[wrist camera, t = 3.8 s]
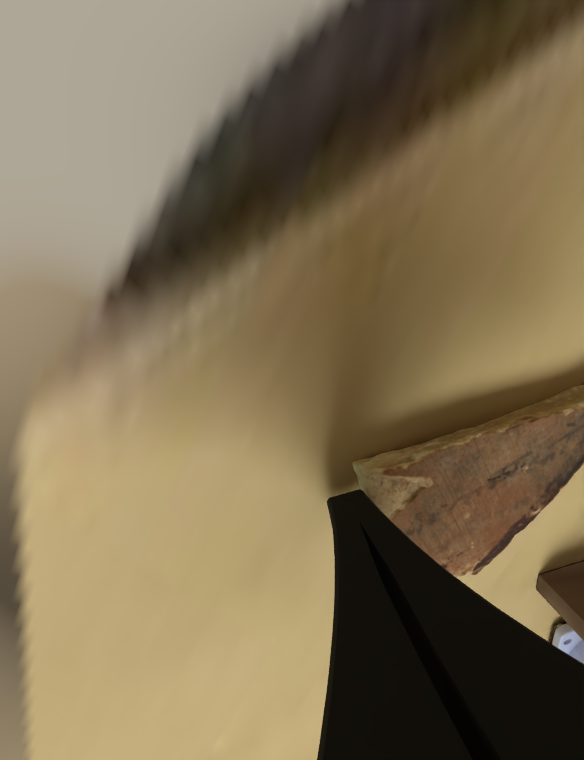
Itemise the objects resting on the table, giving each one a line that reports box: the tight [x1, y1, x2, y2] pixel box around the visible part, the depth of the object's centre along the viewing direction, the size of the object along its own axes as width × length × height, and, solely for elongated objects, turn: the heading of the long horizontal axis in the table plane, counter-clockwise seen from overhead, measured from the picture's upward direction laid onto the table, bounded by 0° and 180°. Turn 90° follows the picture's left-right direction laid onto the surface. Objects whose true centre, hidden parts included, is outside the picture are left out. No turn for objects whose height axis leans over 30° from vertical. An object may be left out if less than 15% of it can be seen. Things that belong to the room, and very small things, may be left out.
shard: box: [352, 384, 584, 577], centre depth 11 cm, size 11×8×2 cm
